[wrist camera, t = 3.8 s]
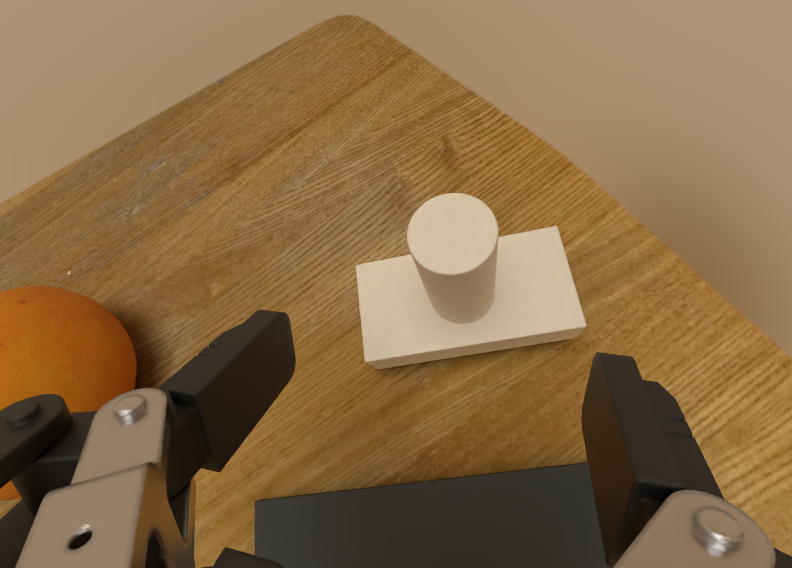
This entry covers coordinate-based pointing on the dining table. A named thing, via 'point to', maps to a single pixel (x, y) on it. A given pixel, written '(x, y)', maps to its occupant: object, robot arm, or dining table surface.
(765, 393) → the dining table surface
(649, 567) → the robot arm
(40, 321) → the fruit
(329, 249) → the dining table surface
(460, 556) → the scrub mat
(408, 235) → the cream block with cylinder
